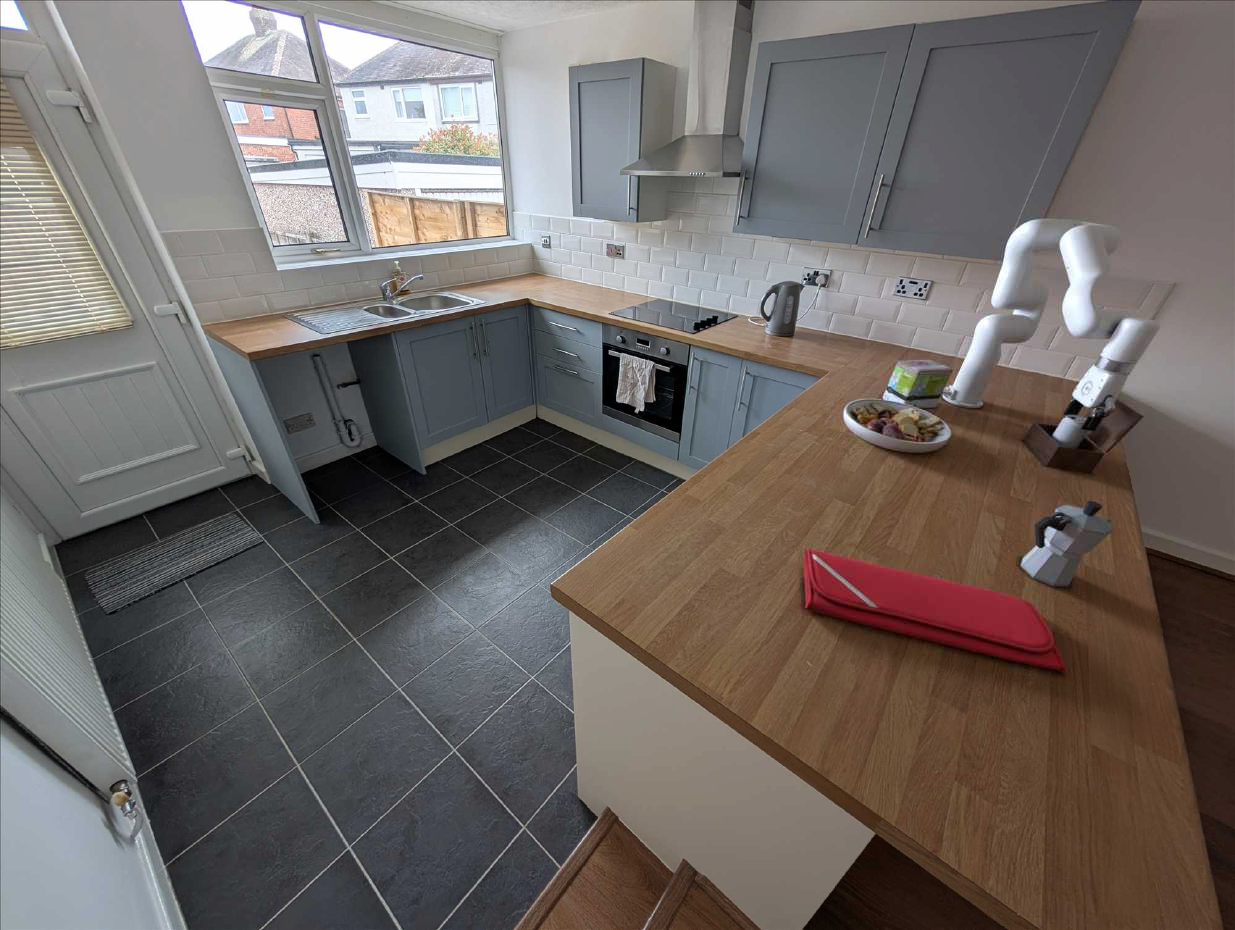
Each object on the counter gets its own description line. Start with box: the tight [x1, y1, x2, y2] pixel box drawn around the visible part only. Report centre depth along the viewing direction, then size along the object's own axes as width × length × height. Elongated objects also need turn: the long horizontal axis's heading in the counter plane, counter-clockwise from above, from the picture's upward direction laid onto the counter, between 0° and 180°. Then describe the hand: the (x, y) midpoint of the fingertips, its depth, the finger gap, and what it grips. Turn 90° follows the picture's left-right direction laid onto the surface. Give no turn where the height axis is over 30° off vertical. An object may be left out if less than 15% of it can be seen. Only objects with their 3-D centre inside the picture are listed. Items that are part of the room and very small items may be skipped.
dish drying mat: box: [803, 547, 1067, 672], centre depth 88 cm, size 16×41×4 cm, turn 74°
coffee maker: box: [1020, 500, 1115, 588], centre depth 95 cm, size 15×9×18 cm, turn 92°
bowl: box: [843, 398, 952, 454], centre depth 148 cm, size 30×30×8 cm
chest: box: [1022, 421, 1106, 475], centre depth 141 cm, size 11×16×7 cm
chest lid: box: [1083, 397, 1145, 454], centre depth 134 cm, size 12×16×1 cm
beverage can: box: [1051, 415, 1088, 449], centre depth 139 cm, size 6×6×12 cm
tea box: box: [882, 359, 954, 409], centre depth 166 cm, size 15×10×15 cm
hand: (1078, 422), depth 136 cm, fingers open, 9 cm apart
